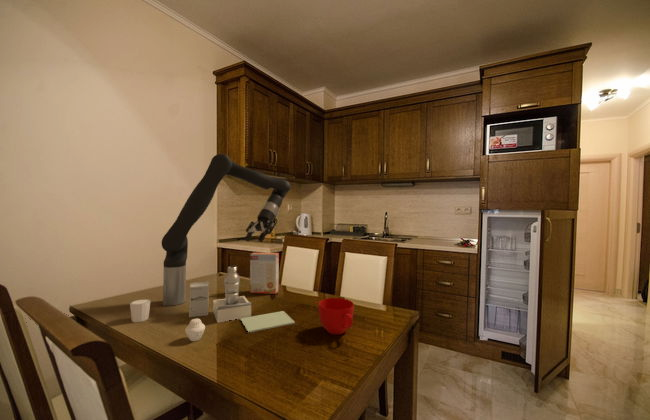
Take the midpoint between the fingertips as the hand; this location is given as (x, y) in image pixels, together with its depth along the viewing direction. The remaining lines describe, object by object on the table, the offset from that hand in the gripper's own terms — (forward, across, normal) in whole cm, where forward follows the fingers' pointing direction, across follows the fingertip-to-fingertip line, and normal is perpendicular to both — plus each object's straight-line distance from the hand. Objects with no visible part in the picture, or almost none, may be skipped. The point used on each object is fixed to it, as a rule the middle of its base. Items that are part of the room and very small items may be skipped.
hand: (253, 240), depth 126 cm
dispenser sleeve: (+30, -1, +10) cm, 32 cm away
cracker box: (+11, -12, +33) cm, 37 cm away
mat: (+29, +16, +13) cm, 36 cm away
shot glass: (+44, -27, -9) cm, 53 cm away
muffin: (+44, +6, -6) cm, 45 cm away
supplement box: (+35, -13, +4) cm, 37 cm away
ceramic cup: (+26, +44, +19) cm, 55 cm away
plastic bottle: (+30, -1, +10) cm, 32 cm away
